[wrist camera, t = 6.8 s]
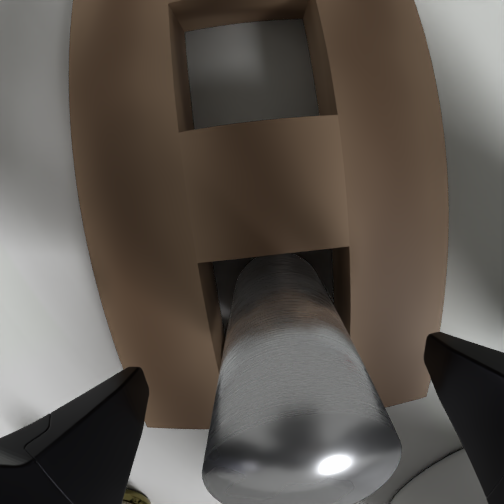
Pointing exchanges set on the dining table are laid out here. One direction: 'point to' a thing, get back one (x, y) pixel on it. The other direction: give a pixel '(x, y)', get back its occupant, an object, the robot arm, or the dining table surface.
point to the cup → (134, 498)
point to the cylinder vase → (444, 484)
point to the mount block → (258, 187)
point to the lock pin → (294, 398)
